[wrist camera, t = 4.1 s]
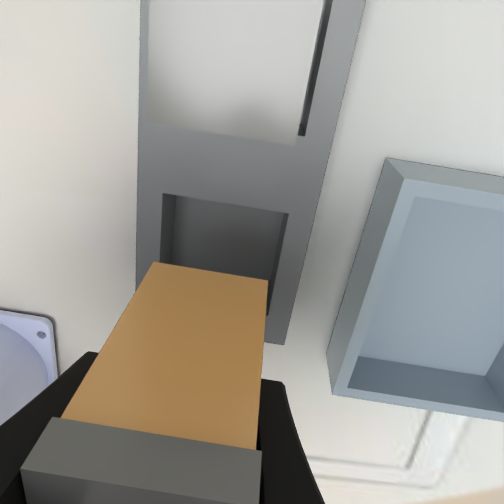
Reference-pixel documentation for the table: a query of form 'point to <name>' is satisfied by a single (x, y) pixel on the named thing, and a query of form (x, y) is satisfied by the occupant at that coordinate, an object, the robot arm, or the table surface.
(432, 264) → the parts tray
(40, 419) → the robot arm
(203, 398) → the block
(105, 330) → the table surface
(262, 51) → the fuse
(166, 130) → the block
